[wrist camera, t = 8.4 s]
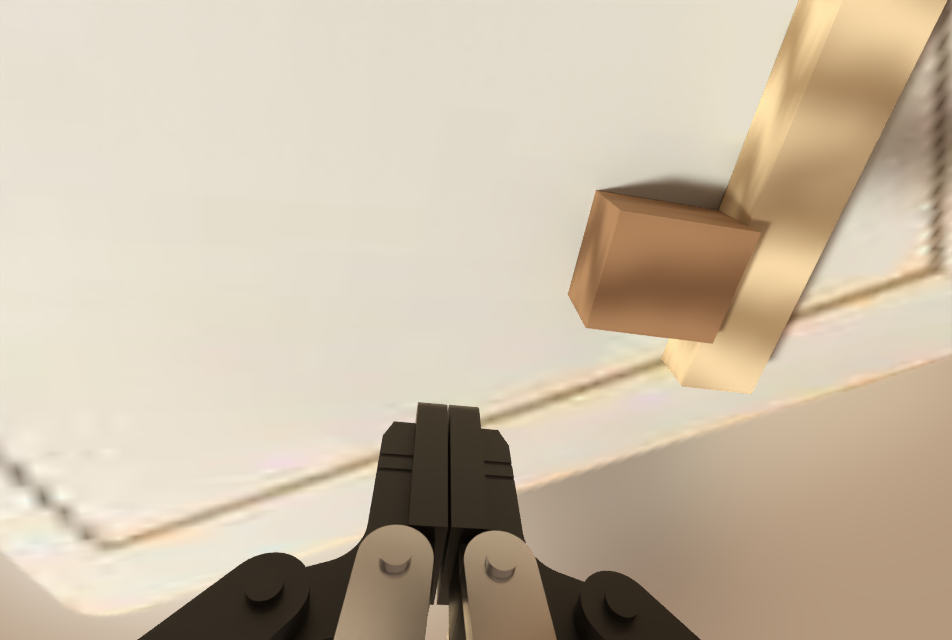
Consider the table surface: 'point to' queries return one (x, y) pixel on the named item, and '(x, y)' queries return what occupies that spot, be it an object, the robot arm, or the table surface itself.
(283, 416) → the table surface
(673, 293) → the walnut block
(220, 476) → the table surface
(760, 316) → the ash board
